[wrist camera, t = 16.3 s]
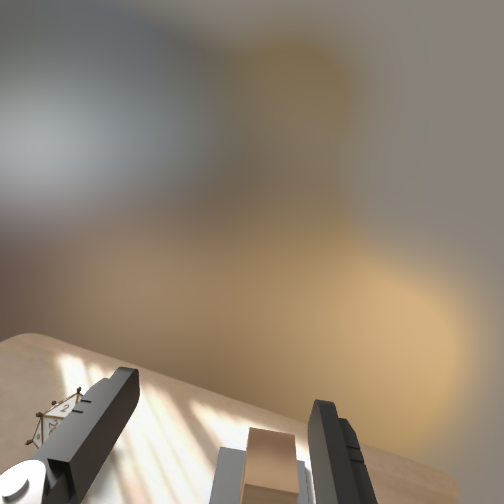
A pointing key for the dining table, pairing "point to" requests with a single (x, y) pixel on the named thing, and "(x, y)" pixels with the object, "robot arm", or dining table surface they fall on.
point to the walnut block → (269, 469)
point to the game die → (53, 418)
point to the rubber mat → (230, 475)
